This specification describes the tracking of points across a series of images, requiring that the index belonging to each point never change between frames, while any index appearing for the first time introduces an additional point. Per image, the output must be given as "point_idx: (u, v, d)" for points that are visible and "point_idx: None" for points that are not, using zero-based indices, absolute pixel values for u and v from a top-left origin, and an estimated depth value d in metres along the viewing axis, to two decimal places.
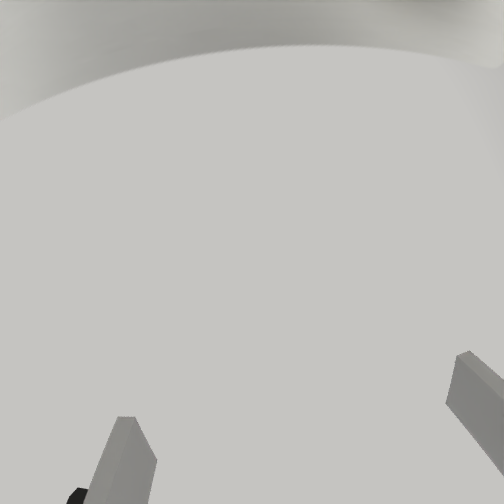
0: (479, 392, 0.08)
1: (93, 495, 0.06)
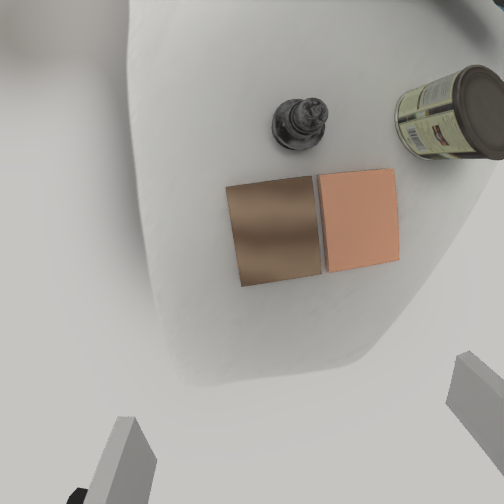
0: (479, 392, 0.08)
1: (93, 495, 0.06)
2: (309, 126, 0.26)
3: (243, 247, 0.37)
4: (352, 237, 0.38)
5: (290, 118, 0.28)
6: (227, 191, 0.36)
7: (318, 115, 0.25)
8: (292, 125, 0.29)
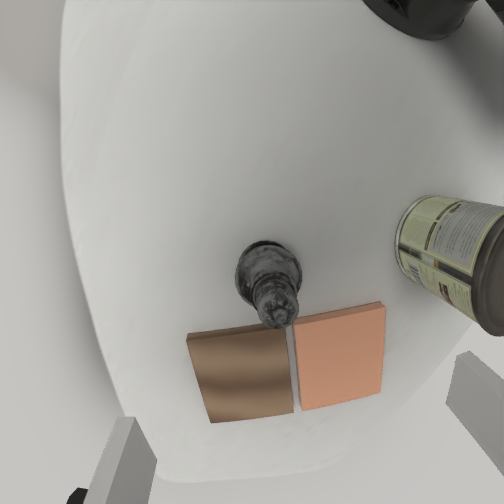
0: (479, 393, 0.08)
1: (93, 495, 0.06)
2: None
3: (210, 393, 0.32)
4: (329, 380, 0.33)
5: (252, 297, 0.24)
6: (188, 344, 0.31)
7: None
8: (254, 306, 0.24)
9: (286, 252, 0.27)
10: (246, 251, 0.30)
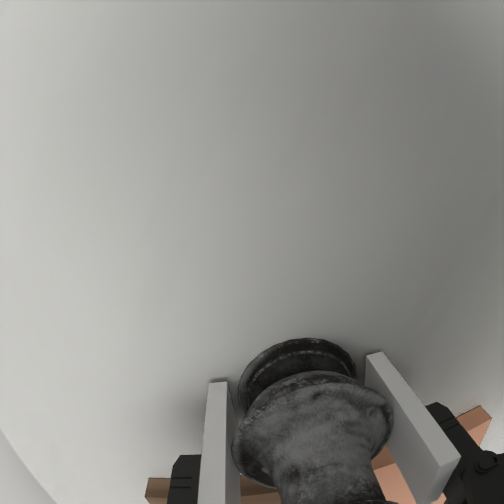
0: (382, 394, 0.10)
1: (209, 455, 0.08)
2: None
3: None
4: None
5: None
6: (149, 500, 0.13)
7: None
8: None
9: (369, 395, 0.09)
10: (257, 363, 0.12)
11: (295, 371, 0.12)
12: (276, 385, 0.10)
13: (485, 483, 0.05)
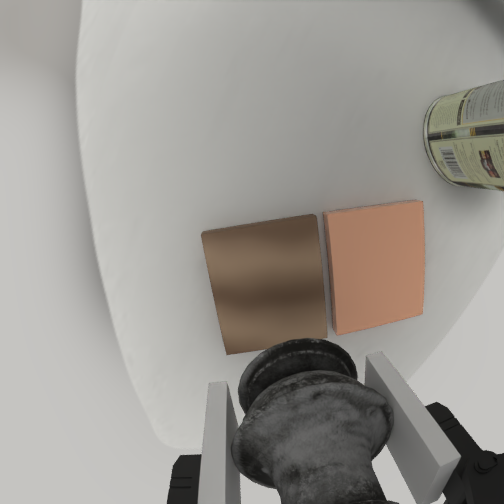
0: (382, 394, 0.10)
1: (209, 455, 0.08)
2: None
3: (227, 310, 0.28)
4: (367, 292, 0.29)
5: None
6: (203, 239, 0.27)
7: None
8: None
9: (369, 395, 0.09)
10: (257, 363, 0.12)
11: (295, 370, 0.12)
12: (276, 385, 0.10)
13: (485, 483, 0.05)
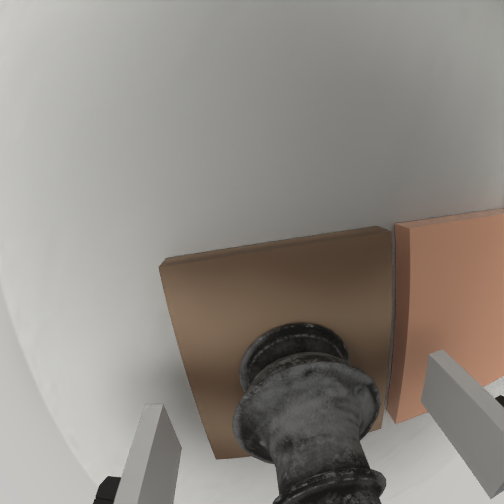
0: (450, 391, 0.09)
1: (127, 481, 0.07)
2: None
3: (214, 401, 0.14)
4: None
5: None
6: (164, 277, 0.13)
7: None
8: None
9: (356, 374, 0.10)
10: (256, 346, 0.13)
11: (291, 353, 0.13)
12: (273, 364, 0.11)
13: None
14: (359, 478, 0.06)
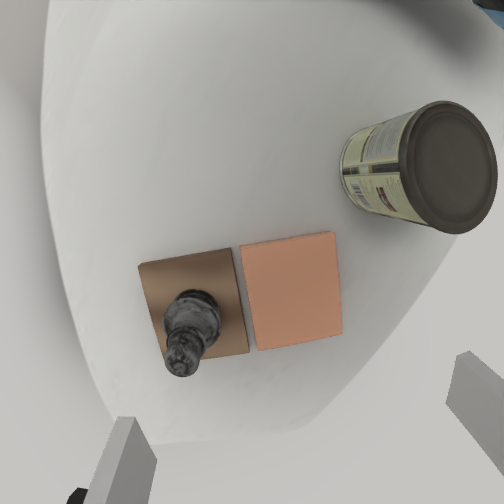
0: (479, 392, 0.08)
1: (93, 495, 0.06)
2: None
3: (162, 327, 0.33)
4: (282, 314, 0.34)
5: (167, 347, 0.26)
6: (139, 270, 0.32)
7: (183, 371, 0.23)
8: None
9: (203, 303, 0.29)
10: (176, 298, 0.33)
11: None
12: None
13: None
14: (190, 329, 0.26)
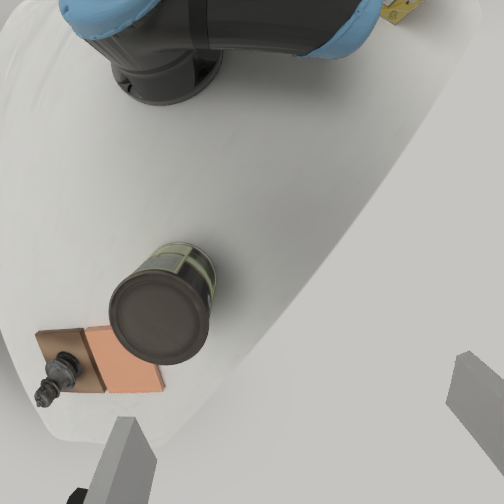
0: (479, 392, 0.08)
1: (93, 495, 0.06)
2: None
3: None
4: (118, 373, 0.44)
5: None
6: (36, 336, 0.42)
7: (41, 405, 0.33)
8: None
9: (62, 365, 0.40)
10: (57, 355, 0.43)
11: (63, 358, 0.43)
12: (53, 360, 0.41)
13: None
14: (49, 382, 0.36)
